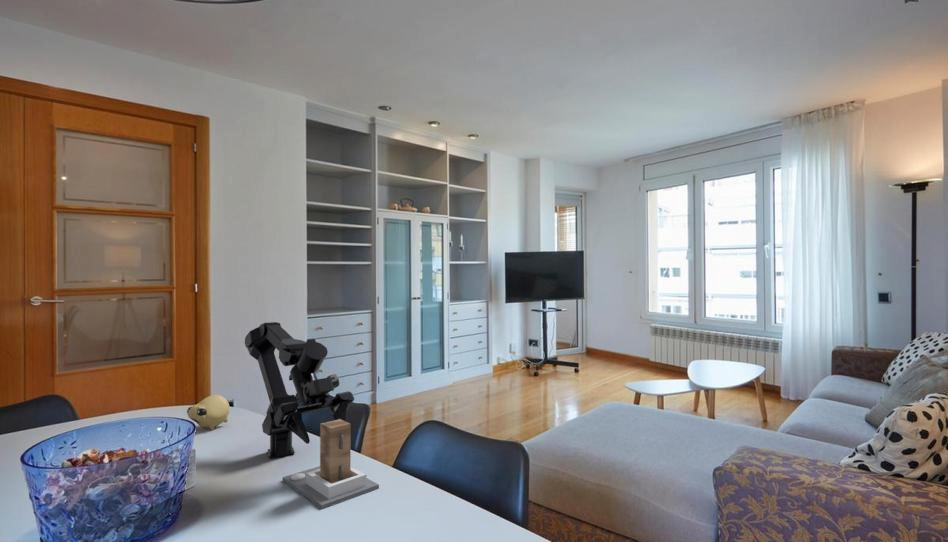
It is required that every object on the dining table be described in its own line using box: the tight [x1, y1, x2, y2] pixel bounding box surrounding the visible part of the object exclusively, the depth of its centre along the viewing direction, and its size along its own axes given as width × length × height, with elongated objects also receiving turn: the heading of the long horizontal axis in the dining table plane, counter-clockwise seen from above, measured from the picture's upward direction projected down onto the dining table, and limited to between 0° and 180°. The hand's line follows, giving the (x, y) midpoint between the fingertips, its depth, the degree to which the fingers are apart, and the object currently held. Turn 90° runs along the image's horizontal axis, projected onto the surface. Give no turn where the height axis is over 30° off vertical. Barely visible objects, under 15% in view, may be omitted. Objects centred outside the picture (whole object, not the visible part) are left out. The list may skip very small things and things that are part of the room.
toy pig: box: [186, 394, 231, 431], centre depth 152 cm, size 10×12×11 cm
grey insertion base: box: [282, 465, 380, 510], centre depth 109 cm, size 20×14×3 cm
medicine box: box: [184, 448, 197, 492], centre depth 108 cm, size 8×4×9 cm, turn 74°
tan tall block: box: [319, 419, 352, 484], centre depth 107 cm, size 6×5×14 cm
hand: (327, 438), depth 110 cm, fingers open, 9 cm apart
